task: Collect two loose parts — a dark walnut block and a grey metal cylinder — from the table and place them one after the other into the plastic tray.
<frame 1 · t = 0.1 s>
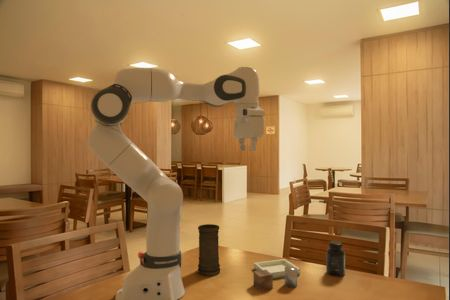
hand: (247, 150, 122), 48 cm above the table, tool pointing down, fingers open, 8 cm apart
walnut block: (263, 287, 118), on the table
metal cylinder: (290, 285, 119), on the table
container: (209, 272, 132), on the table
tray: (276, 271, 132), on the table
supplement bottle: (335, 273, 130), on the table
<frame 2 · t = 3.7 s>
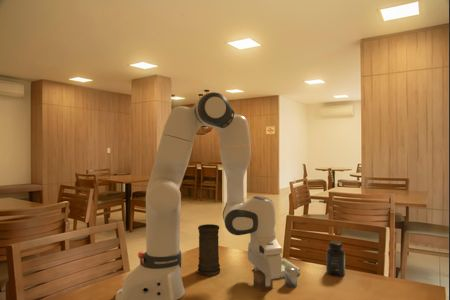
hand: (263, 281, 118), 2 cm above the table, tool pointing down, fingers closed on walnut block, 5 cm apart
walnut block: (263, 286, 118), on the table, touching gripper
everything else where it was.
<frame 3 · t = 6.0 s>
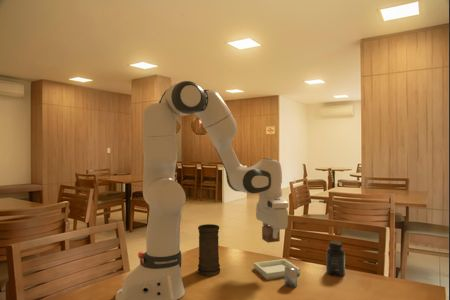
hand: (270, 235, 130), 15 cm above the table, tool pointing down, fingers closed on walnut block, 5 cm apart
walnut block: (270, 240, 130), point 13 cm above the table, touching gripper
everything else where it was.
when the fingers open (3 cm above the table, at t = 8.5 s): walnut block stays where it is, resting on tray.
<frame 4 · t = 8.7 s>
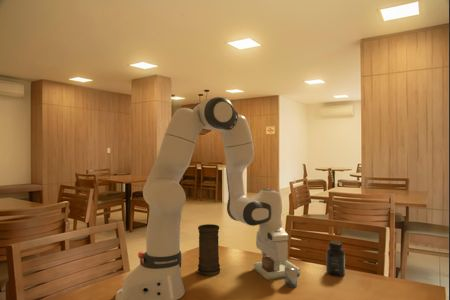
hand: (270, 266, 130), 3 cm above the table, tool pointing down, fingers open, 7 cm apart
walnut block: (270, 271, 130), point 1 cm above the table, touching tray
everything else where it was.
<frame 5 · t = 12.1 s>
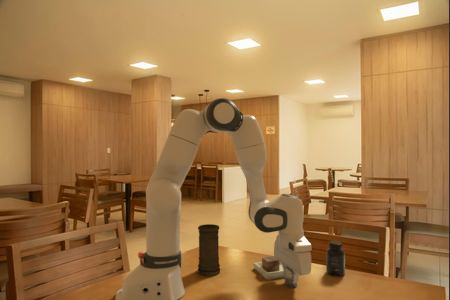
hand: (290, 278, 119), 2 cm above the table, tool pointing down, fingers closed on metal cylinder, 4 cm apart
metal cylinder: (290, 285, 119), on the table, touching gripper
everything else where it was.
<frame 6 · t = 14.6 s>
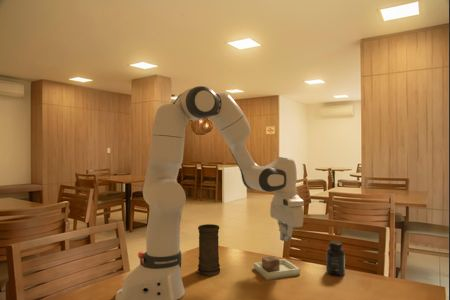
hand: (285, 233, 132), 15 cm above the table, tool pointing down, fingers closed on metal cylinder, 4 cm apart
metal cylinder: (285, 239, 132), point 13 cm above the table, touching gripper
everything else where it was.
when the fingers open (3 cm above the table, at t = 16.9 s): metal cylinder stays where it is, resting on tray.
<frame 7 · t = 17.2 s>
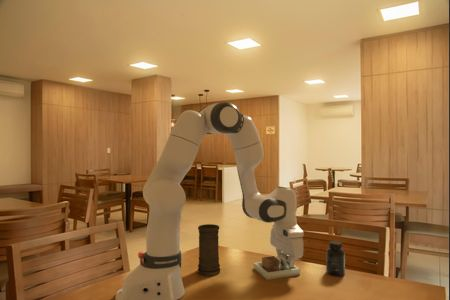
hand: (285, 262, 132), 3 cm above the table, tool pointing down, fingers open, 7 cm apart
metal cylinder: (285, 269, 132), point 1 cm above the table, touching tray
everything else where it was.
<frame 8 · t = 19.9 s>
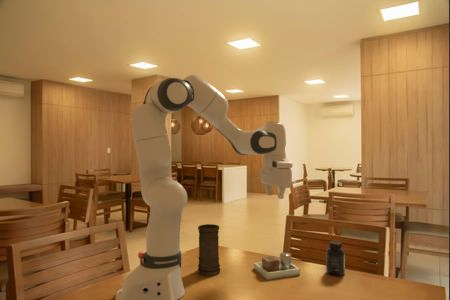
hand: (275, 196, 135), 29 cm above the table, tool pointing down, fingers open, 8 cm apart
nothing on the table moved.
at the end: walnut block inside the target area on the tray (3.2 cm from its centre), point 0.8 cm above the tray's base; metal cylinder inside the target area on the tray (3.6 cm from its centre), point 0.8 cm above the tray's base; metal cylinder tilted 0° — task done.
